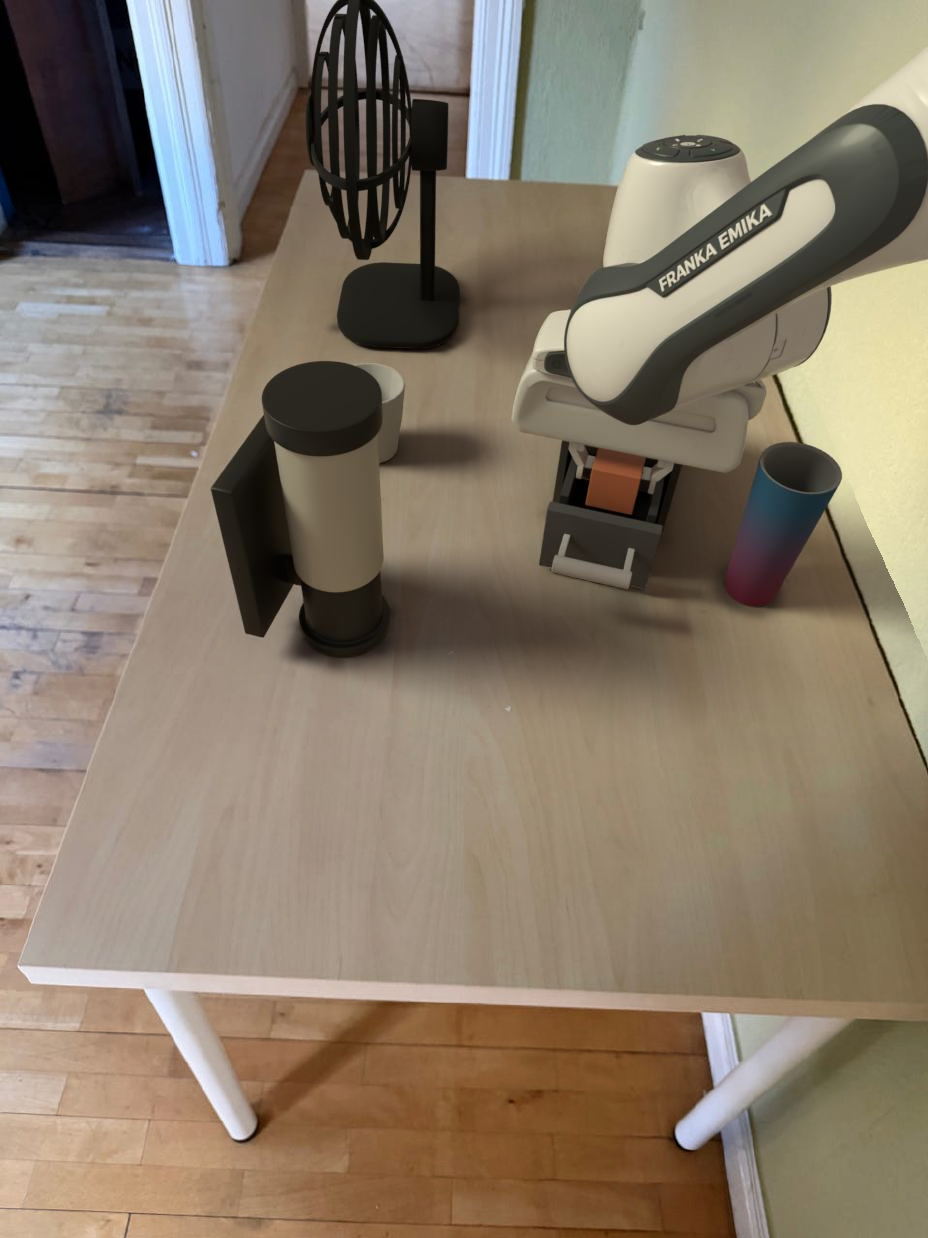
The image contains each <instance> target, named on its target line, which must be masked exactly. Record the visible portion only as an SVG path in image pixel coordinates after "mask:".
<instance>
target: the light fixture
mask: <svg viewBox="0 0 928 1238" xmlns="http://www.w3.org/2000/svg"><path fill="white" fill-rule="evenodd" d="M354 365H355V364H351V363H347V362H343V361H335V360H317V361H308V362H302V363H298V364H296V365H292V366H290V367H288V368H286V369H284V370H281V371H280V372H278V373H276V374H275V375H274V376H273V377H272V378H271V379H270V380H268V382H267V383H266V384H265V386H264V388H263V390H262V393H261V405H262V412H263V415H262V417H260V418H259V420H258V422H257V423H256V424H255V426H254V428H252V430H251V432H250V433H249V434H248V435H247V437H246V438H245V439H244V441H243V443H241V445H240V446H239V448H238V449H237V450H236V452H235V454H234V455H233V456H232V458H231V459H230V460H229V462H228V463H227V464H226V466H225V468H224V469H223V470H222V471H221V473H220V474H219V476H218V477H217V478H216V480H215V481H214V483H213V484H212V485H211V487H210V492H211V496H212V501H213V505H214V510H215V513H216V516H217V522H218V526H219V530H220V535H221V538H222V542H223V547H224V551H225V554H226V555H225V556H226V560H227V563H228V567H229V571H230V576H231V578H232V584H233V588H234V592H235V596H236V602H237V605H238V608H239V613H240V618H241V622H242V625H243V630H244V633H245V634H246V635H250V636H254V637H258V638H265V637H266V635H267V633H268V631H269V629H270V628H271V626H272V624H273V622H274V621H275V619H276V617H277V615H278V614H279V612H280V610H281V608H282V606H283V604H284V603H285V601H286V599H287V597H288V595H289V594H290V592H291V590H292V589H293V587H294V585H295V586H298V587H300V589H301V595H302V601H303V602H302V603H301V606H300V608H299V613H298V624H299V629H300V633H301V636H302V638H303V639H304V641H305V642H306V643H307V644H308V645H309V647H311V648H312V649H313V650H315V651H317V652H318V653H320V654H323V655H326V656H330V657H335V658H350V657H355V656H359V655H364V654H365V653H367V652H369V651H371V650H373V649H375V648H376V647H377V646H379V644H381V643H382V641H383V640H384V639H385V638H386V636H387V634H388V633H389V630H390V627H391V609H390V605H389V603H388V600H387V599H386V597H385V596H384V595H383V591H382V590H383V589H382V568H383V564H384V559H385V557H384V556H385V555H384V537H383V534H384V533H383V519H382V518H383V516H382V515H383V513H382V495H381V494H382V493H381V491H382V490H381V475H380V473H381V471H380V463H379V449H378V432H379V430H380V428H381V426H382V421H383V412H382V391H381V388H380V385H379V383H378V382H377V380H376V379H375V378H374V377H373V376H372V375H371V374H369V373H368V372H367V371H365V370H363V369H361V368H359V367H357V366H354Z"/></svg>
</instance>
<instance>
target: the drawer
mask: <svg viewBox="0 0 928 1238" xmlns="http://www.w3.org/2000/svg"><path fill="white" fill-rule="evenodd" d="M588 455H590V456H594V457H596V454H591V453H588ZM644 467H649V468H652V467H653V466H650V465H645V464H644ZM577 468H578V465H576V463H575V461H574V459H573V457H572V459H571V462H570V465H569V468H568V472H567V475H566V478H565V481H564V484H563V487H562V490H561V494H560V498H559V503H556V502H553V501H549V503H548V505H547V508H546V514H545V522H544V528H543V535H542V541H541V547H540V555H539V561H538V565H539V566H541V567H546V568H550V569H551V570H550V571H551V573H554V574H558V575H562V576H566V577H572V578H576V579H580V580H585V581H589V582H593V583H598V584H603V585H606V586H611V587H615V588H620V589H624V590H629V589H630V587H633V588H638V589H642V590H646V589H647V585H648V582H649V578H650V575H651V573H652V572H651V571H652V568H653V565H654V561H655V557H656V554H657V551H658V547H659V543H660V541H661V537H662V535H663V533H662V528H663V526H662V525H658V524H655V521H656V517H657V512H658V508H659V503H660V498H661V493H662V488H663V483H664V478H665V476H664V477H663V478H662V479H661V480H659V481H658V482H657V481H656V485H655V489H654V492H653V494H649V493H644V492H640V491H638V493H637V497H636V501H635V505H634V509H633V513H632V515H629V514H624V513H620V512H615V511H610V510H606V509H601V508H596V507H592V506H587V505H586V499H587V494H588V488H589V483H590V481H586V480H581V479H577V478H576V474H577ZM661 534H662V535H661Z"/></svg>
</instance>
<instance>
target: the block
mask: <svg viewBox="0 0 928 1238" xmlns="http://www.w3.org/2000/svg"><path fill="white" fill-rule="evenodd" d="M645 459H646V457H643V456H638V455H633V454H628V453H623V452H618V451H613V450H608V449H603V448H598V451H597V454H596V457H595V461H594V464H593V468H592V472H591V478H590V483H589V488H588V494H587V499H586V505H587V506H592V507H596V508H601V509H606V510H610V511H615V512H620V513H624V514H629V515H632V513H633V509H634V505H635V501H636V497H637V493H638V489H639V484H640V480H641V476H642V472H643V467H644V463H645Z"/></svg>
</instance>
